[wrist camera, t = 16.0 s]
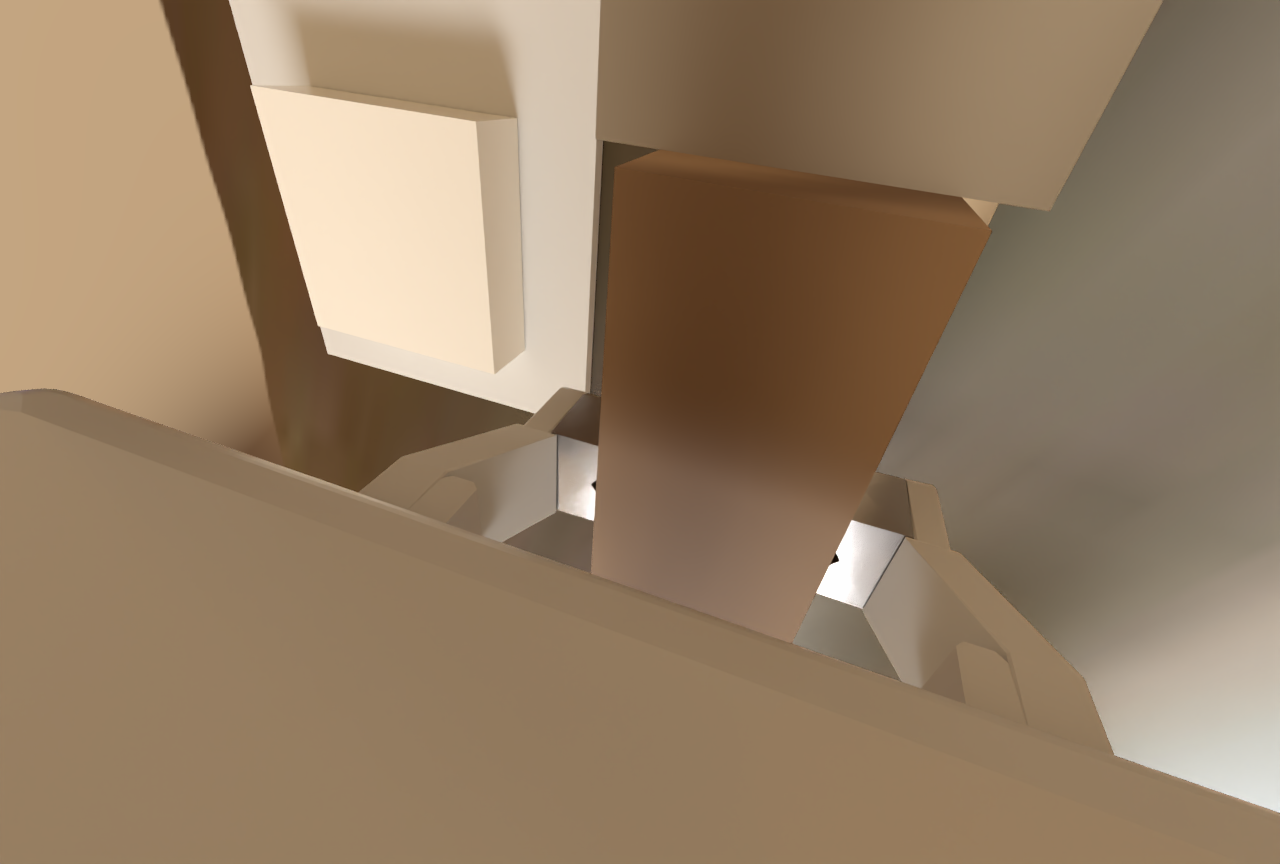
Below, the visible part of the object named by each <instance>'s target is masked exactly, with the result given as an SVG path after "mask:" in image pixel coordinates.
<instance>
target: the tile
mask: <svg viewBox="0 0 1280 864" xmlns="http://www.w3.org/2000/svg"><path fill="white" fill-rule="evenodd" d="M250 87H251V90H252V94H253V98H254V101H255V105H256V108H257V112H258V115H259V119H260V122H261V126H262V129H263V133H264V136H265V140H266V144H267V147H268V151H269V154H270V158H271V161H272V165H273V168H274V172H275V175H276V179H277V182H278V186H279V189H280V193H281V197H282V200H283V204H284V207H285V211H286V214H287V218H288V221H289V225H290V228H291V232H292V235H293V239H294V243H295V246H296V250H297V253H298V257H299V260H300V264H301V267H302V271H303V274H304V278H305V281H306V285H307V289H308V292H309V296H310V299H311V303H312V306H313V310H314V313H315V317H316V320H317V324H318V326H321V327H324V328H328V329H332V330H335V331H339V332H342V333H346V334H350V335H353V336H357V337H361V338H364V339H368V340H371V341H375V342H379V343H382V344H386V345H390V346H393V347H397V348H400V349H404V350H408V351H411V352H415V353H419V354H422V355H426V356H429V357H433V358H437V359H440V360H444V361H447V362H451V363H455V364H458V365H462V366H466V367H469V368H473V369H476V370H480V371H484V372H487V373H491V374H496V373H497V372H498V371H499V370H501V369H502V368H503V367H504V366H506V365H507V364H508V363H510V362H511V361H512V360H513V359H515V358H516V357H517V356H518V355H520V354H521V353H522V352H523V351H525V340H524V310H523V279H522V249H521V218H520V188H519V157H518V127H517V118H513V117H506V116H500V115H494V114H487V113H481V112H474V111H468V110H461V109H455V108H448V107H442V106H436V105H429V104H423V103H416V102H410V101H403V100H397V99H391V98H384V97H378V96H371V95H365V94H358V93H352V92H346V91H339V90H333V89H326V88H320V87H313V86H261V85H250Z"/></svg>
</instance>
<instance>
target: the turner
mask: <svg viewBox="0 0 1280 864" xmlns="http://www.w3.org/2000/svg"><path fill="white" fill-rule="evenodd" d="M1162 2H1163V0H601V1H600V28H599V55H598V81H597V108H596V135H595V139H597V140H604V141H610V142H616V143H623V144H629V145H635V146H641V147H648V148H654V149H660V150H658V151H655V152H653V153H650V154H647V155H645V156H642V157H640V158H637V159H635V160H632V161H629V162H627V163H624V164H622V165H619V166H616V167H615V173H614V190H613V207H612V224H611V241H610V258H609V275H608V292H607V309H606V326H605V343H604V360H603V377H602V394H601V411H600V428H599V445H598V462H597V479H596V496H595V513H594V530H593V547H592V564H591V574H594V575H597V576H600V577H603V578H605V579H608V580H611V581H614V582H617V583H620V584H623V585H626V586H628V587H631V588H634V589H637V590H640V591H643V592H646V593H648V594H651V595H654V596H657V597H660V598H663V599H666V600H669V601H671V602H674V603H677V604H680V605H683V606H686V607H689V608H691V609H694V610H697V611H700V612H703V613H706V614H709V615H712V616H714V617H717V618H720V619H723V620H726V621H729V622H732V623H734V624H737V625H740V626H743V627H746V628H749V629H752V630H755V631H757V632H760V633H763V634H766V635H769V636H772V637H775V638H777V639H780V640H783V641H786V642H789V643H792V642H793V640H794V638H795V636H796V634H797V632H798V629H799V627H800V625H801V623H802V621H803V619H804V617H805V615H806V613H807V611H808V609H809V607H810V605H811V603H812V601H813V599H814V597H815V595H816V592H817V590H818V588H819V586H820V584H821V582H822V580H823V578H824V576H825V574H826V572H827V570H828V568H829V566H830V564H831V562H832V560H833V557H834V555H835V553H836V551H837V549H838V547H839V545H840V543H841V541H842V539H843V537H844V535H845V533H846V531H847V529H848V527H849V525H850V523H851V520H852V518H853V516H854V514H855V512H856V510H857V508H858V506H859V504H860V502H861V500H862V498H863V496H864V494H865V492H866V490H867V488H868V485H869V483H870V481H871V479H872V477H873V475H874V473H875V471H876V469H877V467H878V465H879V463H880V461H881V459H882V457H883V455H884V453H885V451H886V448H887V446H888V444H889V442H890V440H891V438H892V436H893V434H894V432H895V430H896V428H897V426H898V424H899V422H900V420H901V418H902V416H903V413H904V411H905V409H906V407H907V405H908V403H909V401H910V399H911V397H912V395H913V393H914V391H915V389H916V387H917V385H918V383H919V381H920V379H921V376H922V374H923V372H924V370H925V368H926V366H927V364H928V362H929V360H930V358H931V356H932V354H933V352H934V350H935V348H936V346H937V344H938V341H939V339H940V337H941V335H942V333H943V331H944V329H945V327H946V325H947V323H948V321H949V319H950V317H951V315H952V313H953V311H954V309H955V306H956V304H957V302H958V300H959V298H960V296H961V294H962V292H963V290H964V288H965V286H966V284H967V282H968V280H969V278H970V276H971V274H972V272H973V269H974V267H975V265H976V263H977V261H978V259H979V257H980V255H981V253H982V251H983V249H984V247H985V245H986V243H987V241H988V239H989V237H990V234H991V232H992V230H991V229H990V228H989V227H988V226H987V225H986V224H985V222H984V221H983V220H982V219H981V218H980V217H979V216H978V215H977V214H976V212H975V211H974V210H973V209H972V208H971V207H970V206H969V205H968V204H967V202H966V201H965V200H964V199H963V198H969V199H976V200H982V201H988V202H994V203H1001V204H1007V205H1013V206H1020V207H1026V208H1032V209H1039V210H1045V211H1050V210H1051V208H1052V206H1053V204H1054V202H1055V201H1056V199H1057V197H1058V195H1059V193H1060V191H1061V189H1062V188H1063V186H1064V184H1065V182H1066V180H1067V178H1068V176H1069V175H1070V173H1071V171H1072V169H1073V167H1074V165H1075V163H1076V162H1077V160H1078V158H1079V156H1080V154H1081V152H1082V150H1083V149H1084V147H1085V145H1086V143H1087V141H1088V139H1089V137H1090V136H1091V134H1092V132H1093V130H1094V128H1095V126H1096V124H1097V123H1098V121H1099V119H1100V117H1101V115H1102V113H1103V111H1104V110H1105V108H1106V106H1107V104H1108V102H1109V100H1110V98H1111V97H1112V95H1113V93H1114V91H1115V89H1116V87H1117V85H1118V84H1119V82H1120V80H1121V78H1122V76H1123V74H1124V72H1125V71H1126V69H1127V67H1128V65H1129V63H1130V61H1131V59H1132V58H1133V56H1134V54H1135V52H1136V50H1137V48H1138V46H1139V45H1140V43H1141V41H1142V39H1143V37H1144V35H1145V33H1146V32H1147V30H1148V28H1149V26H1150V24H1151V22H1152V20H1153V19H1154V17H1155V15H1156V13H1157V11H1158V9H1159V7H1160V6H1161V4H1162ZM962 197H963V198H962Z"/></svg>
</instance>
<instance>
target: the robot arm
mask: <svg viewBox="0 0 1280 864" xmlns="http://www.w3.org/2000/svg"><path fill="white" fill-rule="evenodd" d="M600 411H601V397H600V396H597V395H594V394H590V393H586V392H584V391H580V390H576V389H572V388H568V387H561V388H560V389H559V390H558V391H557V392H556V393H555V394H554V395H553V396H552V397H551V398H550V399H549V400H548V401H547V402H546V403H545V404H544V405H543V406H542V407H541V408H540V409H539V410H538V411H537V412H536V413H535V414H534V415H533V417H532V418H531V419H530V420H529V421H528V422H527V423H526V424H525V425H521V424H514V425H510V426H507V427H504V428H500V429H497V430H493V431H490V432H486V433H483V434H479V435H476V436H472V437H469V438H465V439H462V440H458V441H455V442H451V443H448V444H444V445H441V446H438V447H434V448H431V449H427V450H424V451H420V452H417V453H413V454H410V455H406V456H403V457H401V458H400V459H398V460H397V461H396V462H395V463H394V464H392V465H391V466H390V467H389V468H387V469H386V470H385V471H384V472H383V473H381V474H380V475H379V476H378V477H377V478H375V479H374V480H373V481H372V482H371V483H369V484H368V485H367V486H366V487H364V488H363V489H362V490H361V491H360V492H355V491H352V490H349V489H346V488H343V487H341V486H338V485H335V484H332V483H329V482H326V481H323V480H320V479H318V478H315V477H312V476H309V475H306V474H303V473H300V472H297V471H295V470H292V469H289V468H286V467H283V466H280V465H277V464H274V463H271V462H269V461H266V460H263V459H260V458H257V457H254V456H251V455H248V454H246V453H243V452H240V451H237V450H234V449H231V448H228V447H225V446H223V445H220V444H217V443H214V442H211V441H208V440H205V439H202V438H200V437H197V436H194V435H191V434H188V433H185V432H182V431H179V430H176V429H174V428H171V427H168V426H165V425H162V424H159V423H156V422H154V421H151V420H148V419H145V418H142V417H139V416H136V415H133V414H130V413H127V412H125V411H122V410H119V409H116V408H113V407H110V406H107V405H105V404H102V403H99V402H96V401H93V400H91V399H88V398H85V397H82V396H79V395H76V394H73V393H70V392H66V391H61V390H57V389H32V390H21V391H12V392H4V393H0V864H1280V813H1278V812H1275V811H1272V810H1270V809H1267V808H1264V807H1261V806H1258V805H1255V804H1252V803H1249V802H1247V801H1244V800H1241V799H1238V798H1235V797H1232V796H1229V795H1226V794H1223V793H1221V792H1218V791H1215V790H1212V789H1209V788H1206V787H1203V786H1200V785H1198V784H1195V783H1192V782H1189V781H1186V780H1183V779H1180V778H1177V777H1174V776H1172V775H1169V774H1166V773H1163V772H1160V771H1157V770H1154V769H1151V768H1149V767H1146V766H1143V765H1140V764H1137V763H1134V762H1131V761H1128V760H1126V759H1123V758H1120V757H1117V756H1115V755H1114V753H1113V750H1112V748H1111V745H1110V743H1109V740H1108V738H1107V735H1106V733H1105V730H1104V727H1103V725H1102V722H1101V720H1100V717H1099V715H1098V712H1097V710H1096V707H1095V705H1094V702H1093V700H1092V697H1091V695H1090V692H1089V689H1088V687H1087V684H1086V682H1085V679H1084V678H1083V677H1082V676H1081V675H1080V674H1079V673H1078V672H1077V671H1076V670H1075V669H1074V668H1073V667H1072V666H1071V665H1070V664H1069V663H1068V662H1067V661H1066V660H1065V659H1064V658H1063V657H1062V656H1061V655H1060V654H1059V653H1058V651H1057V650H1056V649H1055V648H1054V647H1053V646H1052V645H1051V644H1050V643H1049V642H1048V641H1047V640H1046V639H1045V638H1044V637H1043V636H1042V635H1041V634H1040V633H1039V632H1038V631H1037V630H1036V629H1035V628H1034V627H1033V626H1032V625H1031V624H1030V623H1029V622H1028V621H1027V620H1026V619H1025V618H1024V617H1023V616H1022V615H1021V614H1020V613H1019V612H1018V611H1017V610H1016V609H1015V608H1014V607H1013V606H1012V605H1011V604H1010V603H1009V602H1008V601H1007V600H1006V599H1005V598H1004V597H1003V596H1002V595H1001V594H1000V593H999V592H998V591H997V590H996V589H995V588H994V587H993V586H992V585H991V584H990V583H989V582H988V581H987V580H986V579H985V578H984V577H983V576H982V575H981V573H980V572H979V571H978V570H977V569H976V568H975V567H974V566H973V565H972V564H971V563H970V562H969V561H968V560H967V559H966V558H965V557H964V556H963V555H962V554H961V553H959V552H956V551H953V550H951V549H950V545H949V540H948V536H947V532H946V527H945V523H944V519H943V514H942V510H941V506H940V501H939V497H938V492H937V489H936V488H935V487H934V486H933V485H930V484H926V483H921V482H917V481H913V480H909V479H905V478H899V477H895V476H891V475H887V474H883V473H879V472H875V473H874V475H873V477H872V479H871V481H870V483H869V485H868V488H867V490H866V492H865V494H864V496H863V498H862V500H861V502H860V504H859V506H858V508H857V510H856V512H855V514H854V516H853V518H852V520H851V523H850V525H849V527H848V529H847V531H846V533H845V535H844V537H843V539H842V541H841V543H840V545H839V547H838V549H837V551H836V553H835V555H834V557H833V560H832V562H831V564H830V566H829V568H828V570H827V572H826V574H825V576H824V578H823V580H822V582H821V584H820V586H819V588H818V590H817V592H816V593H818V594H821V595H824V596H827V597H830V598H833V599H835V600H838V601H841V602H844V603H847V604H850V605H852V606H855V607H858V608H861V609H863V610H862V612H863V614H864V616H865V617H866V619H867V621H868V623H869V625H870V626H871V628H872V630H873V632H874V633H875V635H876V637H877V639H878V641H879V642H880V644H881V646H882V648H883V650H884V651H885V653H886V655H887V657H888V659H889V660H890V662H891V664H892V666H893V668H894V669H895V671H896V673H897V675H898V677H899V678H900V680H901V681H898V680H895V679H893V678H890V677H887V676H884V675H881V674H878V673H875V672H872V671H870V670H867V669H864V668H861V667H858V666H855V665H852V664H849V663H846V662H844V661H841V660H838V659H835V658H832V657H829V656H826V655H823V654H821V653H818V652H815V651H812V650H809V649H806V648H803V647H800V646H798V645H795V644H792V643H789V642H786V641H783V640H780V639H777V638H775V637H772V636H769V635H766V634H763V633H760V632H757V631H755V630H752V629H749V628H746V627H743V626H740V625H737V624H734V623H732V622H729V621H726V620H723V619H720V618H717V617H714V616H712V615H709V614H706V613H703V612H700V611H697V610H694V609H691V608H689V607H686V606H683V605H680V604H677V603H674V602H671V601H669V600H666V599H663V598H660V597H657V596H654V595H651V594H648V593H646V592H643V591H640V590H637V589H634V588H631V587H628V586H626V585H623V584H620V583H617V582H614V581H611V580H608V579H605V578H603V577H600V576H597V575H594V574H591V573H588V572H585V571H582V570H579V569H576V568H574V567H571V566H568V565H565V564H562V563H559V562H556V561H553V560H550V559H548V558H545V557H542V556H539V555H536V554H533V553H530V552H527V551H524V550H521V549H519V548H516V547H513V546H510V545H507V544H504V543H501V542H503V541H505V540H507V539H508V538H510V537H512V536H514V535H516V534H517V533H519V532H521V531H523V530H525V529H526V528H528V527H530V526H532V525H534V524H535V523H537V522H539V521H541V520H543V519H545V518H546V517H548V516H550V515H552V514H554V513H555V512H556V510H559V511H563V512H566V513H569V514H573V515H576V516H580V517H583V518H586V519H590V520H593V521H594V513H595V496H596V479H597V462H598V445H599V428H600Z"/></svg>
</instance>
